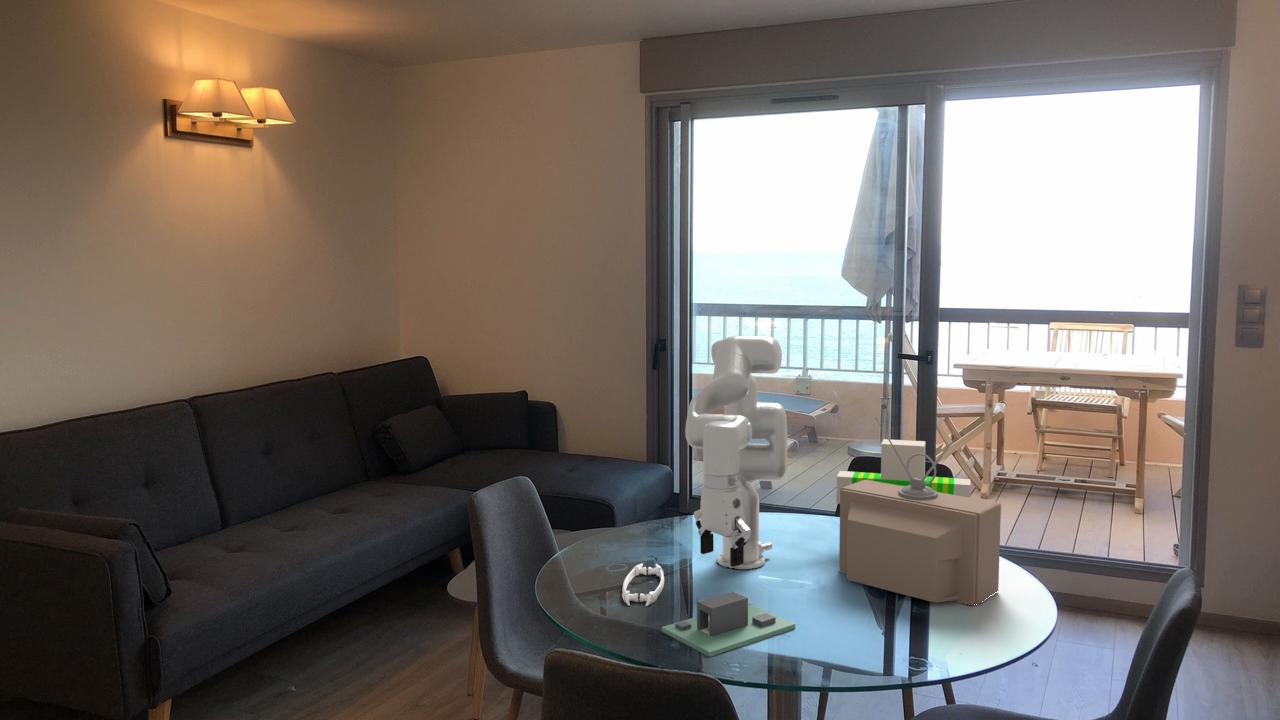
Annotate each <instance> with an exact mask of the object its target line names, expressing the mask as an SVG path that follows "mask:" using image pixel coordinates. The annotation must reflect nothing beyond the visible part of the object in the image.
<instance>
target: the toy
mask: <svg viewBox="0 0 1280 720" xmlns="http://www.w3.org/2000/svg"><path fill="white" fill-rule="evenodd" d="M890 441H891V442H892V444H893V446H894V447H895V448H896V450H897V452H898V453H899V455H900V457H901V459H902V460H903V462H904V464H905V465H906V464H907V461H908V459H909V458H910V457H911V456H912V455H914V454H917V453H922V454H925V455H926V441H924V440H908V439H907V440H905V439H890ZM880 447H881V449H880V451H881V453H880V454H881V456H880V457H881V458H880V459H881V460H880V473H878V472H863V471H862V472H860V471H849V470H848V471H847V470H839V472H838V474H837V475H836V499H835V500H836V501H835V502H836V504H838V505H840V489H841V488H842V487H845V486H848V485H851V484H854V483H857V482H860V481H863V480H871V481H877V482H882V483H888V484H894V485H900V486H908V485H910V480H911V479H910V478H909V477H908V474H907V472H906V470H905V469H904V467H903V465H902V463H901V462H900V460H899V458H898V456H897V455H896V453H895V451H894V450H893V447H892V445H891V444H890V442H889V440H888V439H887V438H884V439H883V440H882V442H881V446H880ZM908 470H909V472H910V474H911V476H912V478H917V479H922V478H923V477H924V476H925V474H926V457H925V456H915V457H913V458H912V459H911V460H910V462H909V465H908ZM932 478H933V476H929V475H928V476H927V477H926V478H925V480H924V483H927V482H929V481H930V480H931V479H932ZM971 483H972V482H971V478H969V479H968V478H958V477H942V476H936V477H935V479H934V480H933V481H932V482H931V483H930V484H928V485H925V486H928V487H930V488H931V489H933V490H935V491H936V492H940V493H945V494H951V495H957V496H962V497H968V498H971Z"/></svg>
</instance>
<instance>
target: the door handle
mask: <svg viewBox="0 0 1280 720" xmlns="http://www.w3.org/2000/svg"><path fill="white" fill-rule="evenodd" d="M647 574H648V576H652V575H656V577H659V579H660V582H659V583H658V586H657V587H656V588H655V590H654V591H649V593H648V594H647V592H645V593H640V595H639V594H638V593H636V592H635V593H630V590H627V588H628V585H629V584H630V582H631V581H632V580H633V579H634V578H635V577H636V576H639V575H644V576H646V575H647ZM664 585H665V576H664V570H663V568H662V567H661V565H659V564H658V563H655V566H653V567H651V566H648V568H647V567H646V566H644V563H639V564H636V565H635V566H633V567H632V569H631V570H630V572H629V573H628V574H627V576H625V578H624V580H623V584H622V589H621V590H622V593H621V597H622V601H624V603H626V605H627V606H629V607H630V606H631V603H630V602H635V603H638V600H639V602H640V603H644V602H646V603H645V607H648V606H650V605H651V604H654V603H655V602H656V601H657V600H658V597H659V596H660V595H661V593H662V591H663V589H664Z"/></svg>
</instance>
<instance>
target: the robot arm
mask: <svg viewBox="0 0 1280 720" xmlns="http://www.w3.org/2000/svg"><path fill="white" fill-rule="evenodd" d="M710 352H711V359H712V363H713V364H714V369H713V374H712V380H711V381H710V382H708V383H707V384H705V385H704V386H703V387H702V388H701V389H700V390H698V391H697V392H696V393H695V394H694V396H693V397H692V399H691V400H690V403H689V406H688V410H687V417H686V422H685V429H684V433H685V439H686V442H687V443H688V445H689V446H691V447H692V448H695V449H703V450H702V451H703V452H702V453H703V454H702V456H703V458H702V459H703V463H702V465H703V466H702V467H703V484H702V490H701V496H700V506H699V507H700V509H697V510H695V511H693V516H694V519H695V525H696V527H697V530H698V532H697V533H698V535H699V538H700V539H699V540H700V542H699V543H700V548H699V549H700V554H701V555H705V554H709V553H710V554H711V553H712V552H714V547H715V546H714V534H717V535H719V536H722V552H721V553H719V554H718V555H717V556H716V563H717V562H718V563H719V565H720V566H721V565H722V567H724V566H725V567H724V568H727V567H729V569H732V568H735V569H734V570H751V569H752V568H753V569H757V568H760V567H762V566H763V565H765V562H766V559H765V558H766V557H765V556H764V555H763V554H764V552H765V551H771V550H772V549H773V544H772V543H771V542H770V541H769V542H765V543H762V542H761V541H760V497H759V494H758V492H757V490H756V488H755V487H754V486H753V484H752V483H751V482H752V481H753V482H754V481H755V482H756V481H758V482H760V481H761V482H763V481H764V482H778V481H782V480H784V478H785V476H787V475H786V474H787V470H788V422H787V421H788V420H787V419H788V418H787V413H786V410H785V408H784V407H783V406H782V405H781V404H780V403H776V402H759V401H758V383H757V381H756V379H755V376H753V374H766V375H767V374H773V375H774V374H776V373H778V371H779V370H780V368H781V366H782V361H783V353H782V347H781V344H780V343H779V341H778V340H777V339H775V338H774V337H770V336H763V335H762V336H755V335H753V336H752V335H751V336H748V335H747V336H745V335H741V336H740V335H738V336H737V335H736V336H729V337H725V338H724V339H721V340H717V341H715V342H714V343H712V345H711V351H710ZM723 407H724V408H723ZM720 408H723V409H724V410H723V411H724V412H723V413H724V414H723V413H710V412H712V411H714V410H717V409H720ZM751 440H761V441H762V440H765V441H767V442H768V443H753V442H751ZM750 442H751V443H750ZM750 481H751V482H750Z"/></svg>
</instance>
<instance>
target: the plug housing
mask: <svg viewBox="0 0 1280 720" xmlns="http://www.w3.org/2000/svg"><path fill="white" fill-rule="evenodd" d="M748 604H749V598H748V597H746V596H744V595H742V594H739V593H738V592H735V591H729V592H725V593H722V594H719V595H715V596H711V597H708V598H705V599H701V600H698V601H696V617H697V629H699V630H702V629H705V628H708V614H709V635H711V636H715V635H718V634H721V633H724V632H727V631H731V630H734V629H737V628H740V627H743V626H746V625H748Z"/></svg>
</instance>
